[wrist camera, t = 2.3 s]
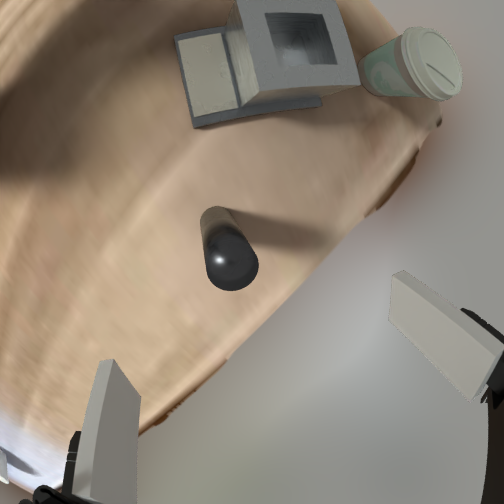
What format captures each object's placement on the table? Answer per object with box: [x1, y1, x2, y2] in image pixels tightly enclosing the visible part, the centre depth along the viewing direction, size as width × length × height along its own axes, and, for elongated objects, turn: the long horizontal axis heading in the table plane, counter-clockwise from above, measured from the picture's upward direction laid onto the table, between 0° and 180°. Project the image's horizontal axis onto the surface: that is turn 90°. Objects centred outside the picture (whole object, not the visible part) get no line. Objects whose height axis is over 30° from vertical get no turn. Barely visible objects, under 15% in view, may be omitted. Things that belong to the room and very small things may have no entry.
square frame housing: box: [174, 0, 361, 129], centre depth 20 cm, size 14×11×9 cm
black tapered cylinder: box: [200, 206, 259, 291], centre depth 24 cm, size 4×4×12 cm
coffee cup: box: [358, 27, 463, 101], centre depth 21 cm, size 8×8×12 cm
